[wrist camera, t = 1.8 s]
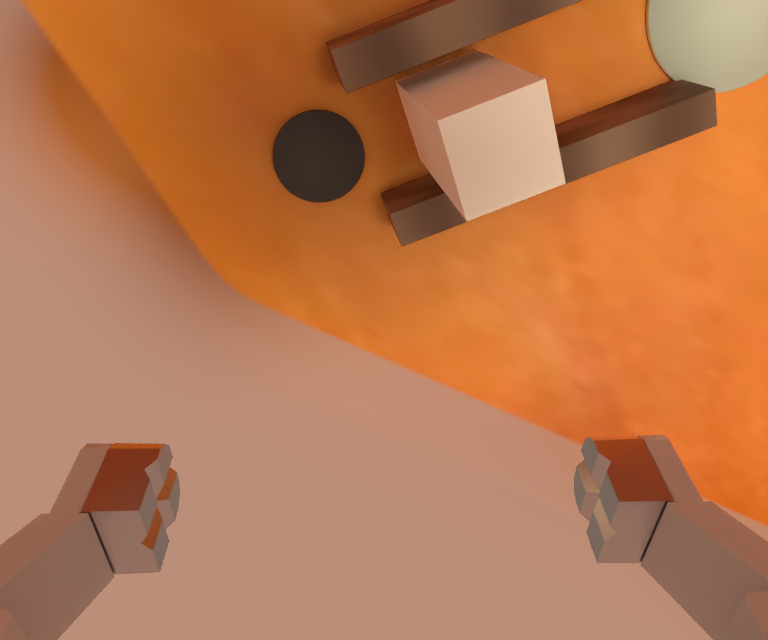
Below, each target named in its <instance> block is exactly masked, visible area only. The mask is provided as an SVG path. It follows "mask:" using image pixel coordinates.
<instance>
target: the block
mask: <svg viewBox="0 0 768 640" xmlns="http://www.w3.org/2000/svg"><path fill="white" fill-rule="evenodd" d="M395 83H396V86H397V89H398V92H399V95H400V98H401V102H402V105H403V108H404V111H405V114H406V117H407V120H408V124H409V127H410V130H411V133H412V136H413V139H414V143H415V146H416V149H417V152H418V155H419V158H420V161H421V162H422V163H423V164H424V166H425V167H426V168H427V170H428V171H429V172H430V174H431V175H432V176H433V178H434V179H435V180H436V182H437V183H438V184H439V186H440V187H441V188H442V190H443V191H444V192H445V194H446V195H447V196H448V197H449V199H450V200H451V201H452V203H453V204H454V205H455V207H456V208H457V209H458V211H459V212H460V213H461V215H462V216H463V217H464V219H465V220H466V221H470V220H472V219H475V218H477V217H480V216H483V215H485V214H488V213H490V212H493V211H496V210H498V209H501V208H503V207H506V206H509V205H511V204H514V203H516V202H519V201H522V200H524V199H527V198H529V197H532V196H535V195H537V194H540V193H542V192H545V191H548V190H550V189H553V188H555V187H558V186H561V185H563V184H566V182H565V177H564V172H563V166H562V161H561V156H560V151H559V146H558V140H557V135H556V130H555V125H554V120H553V115H552V109H551V104H550V99H549V94H548V89H547V83H546V78H543V77H541V76H538V75H536V74H533V73H531V72H528V71H526V70H523V69H521V68H519V67H516V66H514V65H511V64H509V63H506V62H504V61H501V60H499V59H496V58H494V57H492V56H489V55H487V54H484V53H482V52H479V51H477V50H472V51H470V52H467V53H465V54H462V55H460V56H457V57H455V58H452V59H450V60H447V61H445V62H442V63H440V64H437V65H435V66H432V67H429V68H427V69H424V70H422V71H419V72H417V73H414V74H412V75H409V76H407V77H404V78H402V79H399V80H397V81H395Z"/></svg>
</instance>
